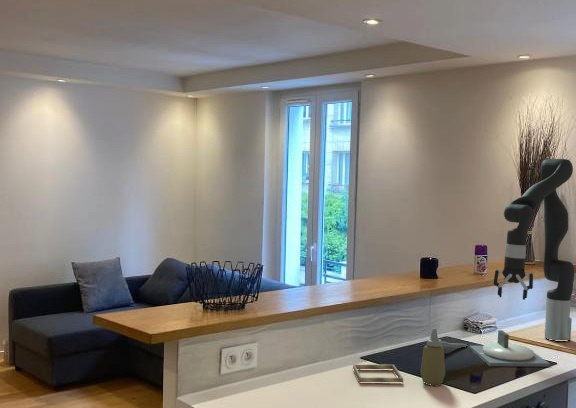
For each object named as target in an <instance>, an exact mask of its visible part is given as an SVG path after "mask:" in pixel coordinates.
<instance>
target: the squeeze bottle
mask: <svg viewBox="0 0 576 408" xmlns="http://www.w3.org/2000/svg"><path fill="white" fill-rule="evenodd" d="M439 339H440V338H439V337H438V332H437V328H432V331H431V334H430V337H429V338H427V339H426V345H424V346H423V350H422V356H421V366H420V371H419V372H420V376H421V379H422V383H423V382H425V383H427V384H431V385H438V386H440V385H439V384H441V383H442V384H443V381H444V379H445V376H446V364H445V349H444V348H443V347H442V346H441V342H442V339H441V340H439ZM427 384H426V385H427ZM442 384H441V385H442ZM431 385H430V386H431Z"/></svg>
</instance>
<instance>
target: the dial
mask: <svg viewBox="0 0 576 408" xmlns="http://www.w3.org/2000/svg"><path fill="white" fill-rule="evenodd" d="M509 335H510V334H508V333H507V332H505V331H504V330H498V331H497V342H490V343H485V344H484V345H482V346H483V352H484V353H485V354H487V355H489V356H491V357H495V358H499V359H505V360H516V361H521V360H529V359H532V358H533V356H534V353H535V352H534V350H533V349H532V348H530V347H527V346H525V345H521V344H516V343H510V342H509V337H510V336H509ZM524 346H525V347H524Z"/></svg>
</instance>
